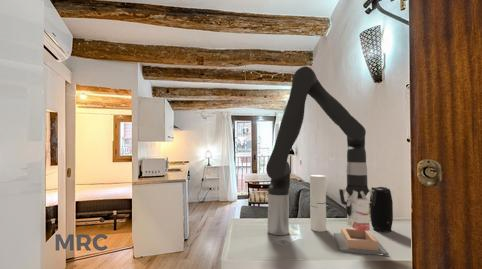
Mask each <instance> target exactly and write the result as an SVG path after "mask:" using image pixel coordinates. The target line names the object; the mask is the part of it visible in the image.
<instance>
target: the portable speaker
mask: <svg viewBox="0 0 482 269" xmlns="http://www.w3.org/2000/svg"><path fill="white" fill-rule="evenodd" d="M370 190H375V191H376V192H377V194H376V201H375V206H371V207H370V215H369V219H370V222H371V226H372V227H371V228H373V230H374V231H376V232H380V233H383V232H384V231H388V232H389V233H390V232H392V227H393V220H394V210H393V209H394V208H393V207H394V206H393V205H394V204H393V197H392V193H391V192H392V191H391V189H390V188H388V187H386V186H385V187H384V186H378V187H371V189H370ZM370 198H371V195H370V196H369V199H370Z"/></svg>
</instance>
